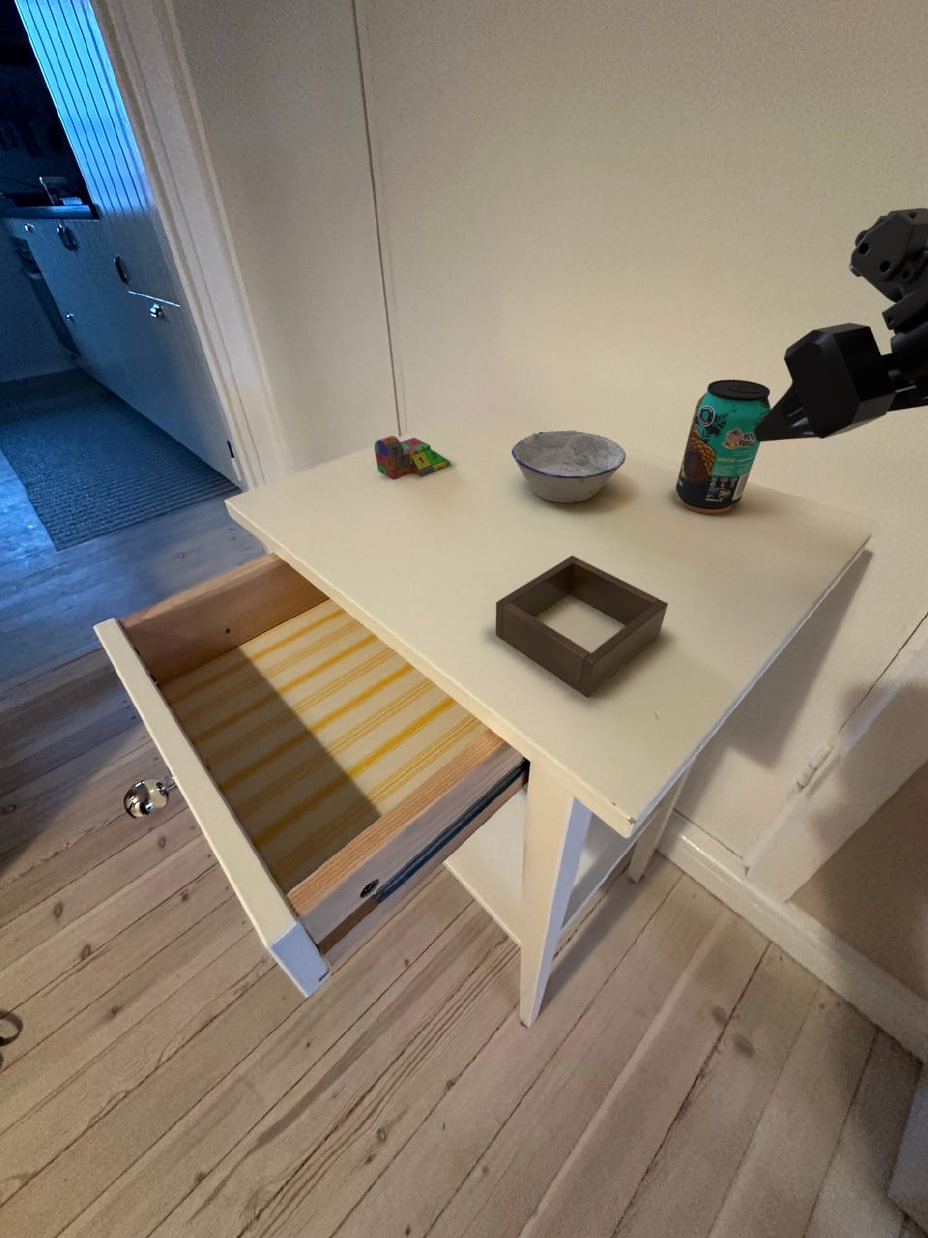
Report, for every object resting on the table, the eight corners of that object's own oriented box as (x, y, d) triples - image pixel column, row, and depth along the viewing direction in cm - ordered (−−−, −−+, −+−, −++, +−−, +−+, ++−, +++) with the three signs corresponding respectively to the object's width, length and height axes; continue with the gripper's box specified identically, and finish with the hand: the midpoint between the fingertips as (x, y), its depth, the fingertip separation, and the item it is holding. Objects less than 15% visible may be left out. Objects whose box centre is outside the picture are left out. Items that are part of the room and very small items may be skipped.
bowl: (489, 492, 64) (490, 454, 61) (547, 457, 71) (549, 421, 68) (584, 525, 57) (590, 483, 54) (636, 482, 65) (644, 444, 62)
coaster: (739, 497, 61) (740, 493, 61) (722, 518, 57) (724, 514, 57) (687, 484, 64) (688, 480, 64) (669, 504, 60) (670, 500, 60)
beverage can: (671, 481, 63) (697, 376, 56) (733, 485, 62) (768, 378, 54) (677, 509, 58) (706, 398, 50) (744, 514, 57) (785, 401, 49)
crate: (659, 636, 44) (668, 603, 41) (587, 697, 39) (593, 664, 37) (568, 586, 49) (572, 555, 47) (495, 634, 44) (495, 602, 42)
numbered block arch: (401, 483, 66) (397, 448, 63) (377, 470, 70) (372, 436, 67) (450, 464, 70) (448, 431, 67) (426, 452, 73) (423, 420, 70)
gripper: (1088, 141, 31) (837, 319, 46) (889, 148, 25) (674, 350, 40) (1159, 312, 31) (883, 436, 46) (975, 360, 25) (726, 485, 40)
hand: (796, 424), depth 43 cm, fingers open, 9 cm apart
